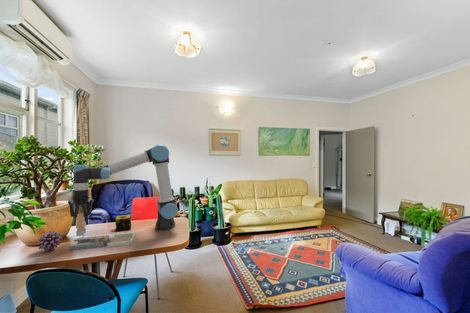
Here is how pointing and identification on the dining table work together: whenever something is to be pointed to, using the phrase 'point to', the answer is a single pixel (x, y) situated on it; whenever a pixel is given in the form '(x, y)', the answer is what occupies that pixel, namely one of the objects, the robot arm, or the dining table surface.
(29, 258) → the dining table surface
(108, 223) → the dining table surface
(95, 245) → the slot board
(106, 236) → the chip
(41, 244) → the flower
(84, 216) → the robot arm
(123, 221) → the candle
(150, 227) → the dining table surface
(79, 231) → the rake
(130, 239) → the tray
